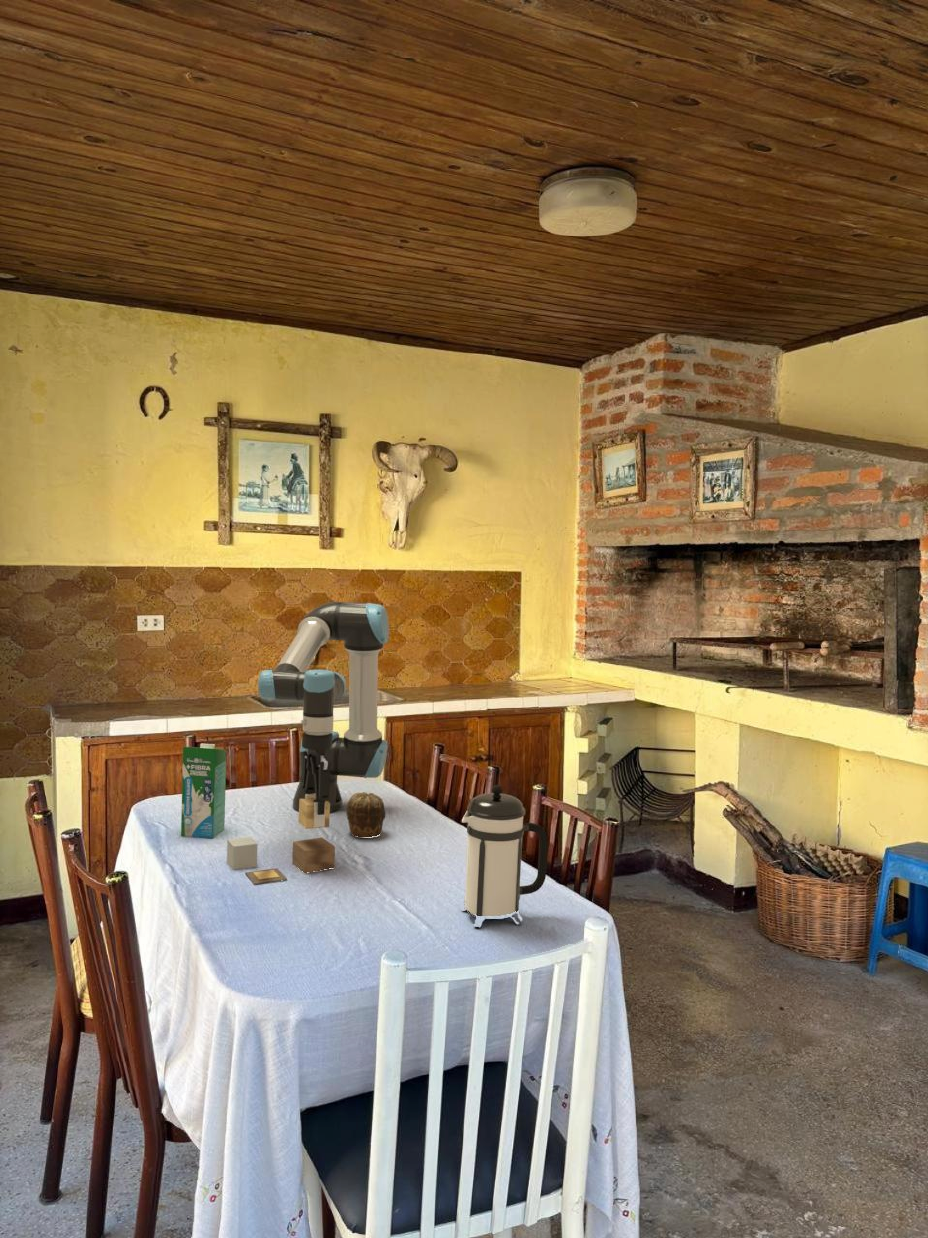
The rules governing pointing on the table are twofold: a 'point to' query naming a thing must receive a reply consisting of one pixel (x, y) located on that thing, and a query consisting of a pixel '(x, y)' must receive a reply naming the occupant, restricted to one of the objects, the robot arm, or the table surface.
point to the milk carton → (203, 791)
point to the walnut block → (313, 855)
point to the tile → (265, 876)
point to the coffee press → (498, 854)
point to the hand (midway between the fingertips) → (314, 822)
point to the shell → (365, 814)
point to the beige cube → (242, 853)
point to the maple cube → (311, 813)
